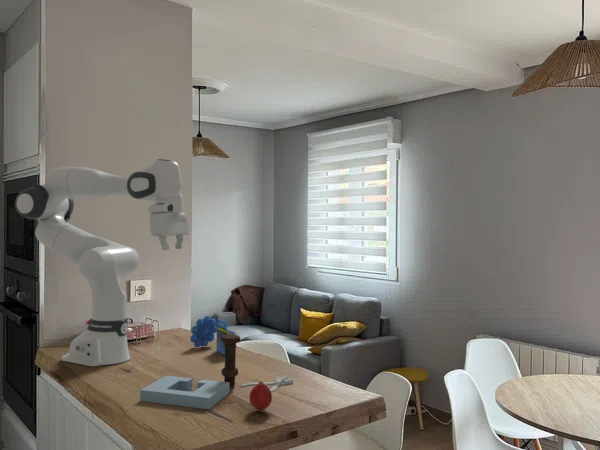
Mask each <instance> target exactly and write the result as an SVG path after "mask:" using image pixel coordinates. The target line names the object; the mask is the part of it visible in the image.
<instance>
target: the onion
mask: <svg viewBox="0 0 600 450" xmlns="http://www.w3.org/2000/svg"><path fill="white" fill-rule="evenodd" d="M258 382H259V384H258V385H254V386H253V388H252V389H251V390H250V393H249V403H250V405H251V406H252V407H253V408H254V409H256V411H258V412H263V411H264V410H266V409H267V408H268V407H269V406H270V405H271V403H272V401H273V400H272V399H273V396H272V392H271V391H270V389H271V388H270V389H269V388H268V387H269V386H266V385H265V384H264V383H263V382H264V381H263V380H260V381H258Z"/></svg>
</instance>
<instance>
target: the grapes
mask: <svg viewBox="0 0 600 450" xmlns="http://www.w3.org/2000/svg"><path fill="white" fill-rule="evenodd" d="M190 333H191V336H190V338H189V341H190V342H191V343H193V346H194V347H195V348H196V347H198V348H200V347H201V346H206V347H207V346H208V345H209V342H211V343H212V342H213V341H214V340H215V334H217V320H216V318H211V316H210V315H205V316H204V317H203V318H198V319H197V320H196V322H195V325H193V326H192V327H191V329H190Z"/></svg>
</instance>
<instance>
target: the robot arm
mask: <svg viewBox="0 0 600 450" xmlns="http://www.w3.org/2000/svg"><path fill="white" fill-rule="evenodd" d="M182 184H183V183H182V174H181V168H180V164H178V162H176V161H175V160H170V159H165V158H164V159H163V158H158V159H156V160H154V161H153V162H152V163H151V165H149V166H147V167H145V168H144V169H141V170H138V171H135V172H133V173H131V174H130V175H129V177H127V176H120V175H115V174H113V173H109V172H105V171H101V170H98V169H95V168H90V167H86V166H63V167H56V168H53V169H51V170H50V171H48V173H47V175H46V178H45V183H44V184H42V185H41V184H40V183H35V184H33V185H32V186H31V187H28V188H26V189H23V190H22V191H21V192H19V193H18V194H17V195H16V198H15V201H14V207H15V210H16V213H18V215H20V216H21V218H22V217H23V218H24V219H28V220H37V221H38V222H37V223H38V224H37V225H36V228H35V232H34V235H35V237H36V240H37V241H38V242H40V243H41V244H42V245H43V246H45V247H46V248H48V249H49V250H50V251H52V252H54V253H56V254H57V255H60V256H61V257H64V258H65V259H67V260H70V261H71V262H73V263H75V264H78V269H79V272H80V274H81V275H82V276H83V277H84V278H85V279H86V280H87V282H88V286H89V289H90V293H91V301H92V303H91V305H92V306H91V307H92V309H91V311H92V312H91V313H92V314H91V315H92V316H91V317H92V318H90V319H89V320H85V321H84V322H85V323H84V325H87V329H85V331H83V332H82V333H81V334H80V335H78V336H77V337H75V338H74V339H72V341H71V343H70V346H69V349H68V353H66V354H64V355H63V356H62V357H61V362H68V363H72V364H76V365H77V364H78V365H83V366H88V367H98V366H107V365H115V364H121V363H124V362H127V361H129V360H131V355H130V353H129V347H128V346H129V345H128V337H127V336H128V335H127V334H128V317H127V303H128V302H127V301H128V296H127V294H126V293H125V291H124V290H123V289H122V286H121V284H120V277H125V276H128V275H130V274H131V273H133V272H134V271H136V270H137V269H138V267H139V264H140V255H139V253H138V252H137V250H136V249H135V248H133V247H130V246H127V245H123V244H121V243H118V242H115V241H112V240H110V239H107V238H104V237H101V236H96V235H94V234H92V233H90V232H87V231H85V230H83V229H81V228H79V227H77V226H75V225H73V224H71V223H69V222H68V221H70V219H71V215H72V214H73V211H74V207H75V202H74V199H83V200H84V199H93V198H100V197H108V196H115V195H116V196H118V195H119V196H120V195H126V196H128V195H129V196H130V197H132V198H133V199H136V200H140V201H151V202H154V203H153V204H151V205H150V206H149V207H148V214H150V215H149V228H150V233H151V236H152V237H158V241H159V243H160V245H161V250H162V251H169V249H170V248H169V247H170V245H169V244H168V242H167V239H168V237H169V236H170V237H171V236H173V237H174V236H175V239H176V243H175V244H174V246H175V249H176V250H182V249H183V241H184V236H186V235H187V236H189V233H190V225H189V219H188V214H186V213H185V211H184V197H183V194H182Z"/></svg>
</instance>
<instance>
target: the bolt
mask: <svg viewBox="0 0 600 450" xmlns="http://www.w3.org/2000/svg"><path fill="white" fill-rule="evenodd" d="M221 341H222V342H223V343H225V355H224V367H223V368H222V369H221V375H222V377H223V378H224V380H223V382H230V389H233V388H234V387H235V385H236V377H237V376H238V375H239V369H238V368H237V367H236V359H237V358H236V357H237V356H236V355H237V353H236V351H237V344H238V343H241V337H240V335H237V334H236V335H233V334H232V335H223V336H222V337H221Z"/></svg>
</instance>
